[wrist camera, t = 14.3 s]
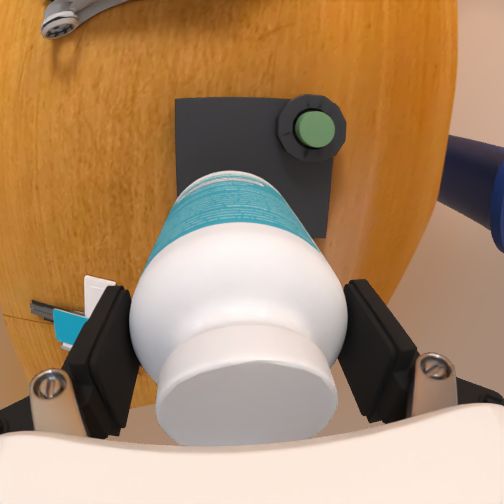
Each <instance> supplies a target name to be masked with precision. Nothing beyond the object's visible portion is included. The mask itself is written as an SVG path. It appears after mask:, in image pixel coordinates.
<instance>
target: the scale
mask: <svg viewBox="0 0 504 504" xmlns="http://www.w3.org/2000/svg"><path fill="white" fill-rule="evenodd" d="M310 111H319V112H323V113H325V114H327V115H328V116H329V117H330V118H331V119H332V121H333V123H334V126H335V134H334V137H333V139H332V140H331V142H330V143H329V144H327V145H326V146H324V147H319V148H316V147H311V146H309V145H306V144H304V143H302V142H301V141H300V140H299V139H298V137H297V135H296V132H295V125H296V122H297V120H298V118H299V117H300V116H301V115H302V114H304V113H306V112H310ZM345 138H346V121H345V119H344V117H343V115H342V112H341V110H340V108H339V107H338V106H337V105H336V104H335V103H333V102H332V101H330V100H329V99H327V98H326V97H325V96H320V95H311V94H304V95H300V96H298V97H296V98H294V99H278V98H253V97H207V98H182V99H175V142H176V177H177V198H178V197H179V196H180V194H181V193H182V192H183V191H184V190H185V189H186V188H187V187H188V186H189V185H191V184H192V183H193V182H195V181H196V180H198V179H200V178H202V177H204V176H206V175H209V174H212V173H216V172H220V171H241V172H246V173H250V174H253V175H255V176H258V177H260V178H262V179H263V180H265V181H267V182H268V183H269V184H271V185H272V186H273V187H274V188H275V189H276V190H277V191H278V192H279V193H280V194H281V196H282V197H283V198H284V200H285V201H286V202H287V203H288V205H289V206H290V208H291V209H292V211H293V212H294V214H295V215H296V216H297V218H298V219H299V221H300V222H301V223H302V225H303V226H304V228H305V229H306V231H307V232H308V234H309V235H310V237H311V238H326V230H327V221H328V211H329V201H330V190H331V178H332V166H333V156H335V155H336V154H337V153H338V151H339V149H340V148H341V146H342V145H343V143H344V142H345Z"/></svg>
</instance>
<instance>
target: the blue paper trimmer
mask: <svg viewBox="0 0 504 504" xmlns="http://www.w3.org/2000/svg"><path fill="white" fill-rule="evenodd" d="M107 286H116V282H113V281H109V280H105V279H100V278H96V277H92V276H88V275H86V276H85V278H84V297H85V313H81V312H78V311H74V310H72V312H70V311H67V310H64V309H60V308H57V307H54V306H50V305H47V304H44V303H39V302H36V301H33V300H32V304H31V303H30V308H33V309H31V313H33V314H36V315H39V316H42V317H44V320H47V321H50V322H54V327H55V334H56V339H57V340H58V341H60V342H62V345H61V349H64V350H68V351H70V350H71V348H72V346H73V344H74V342H75V340H76V338H77V336H78V334H79V332H80V330H81V329H82V327H83V325H84V323H85V322H86V321H88V319H89V318H90V316H91V314H92V312H93V310H94V308H95V306H96V305H97V303H98V301H99V299H100V297H101V296H102V294H103V292H104V290H105V289H106V287H107ZM140 366H142V365H141V363H140ZM140 366H139V367H140Z"/></svg>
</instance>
